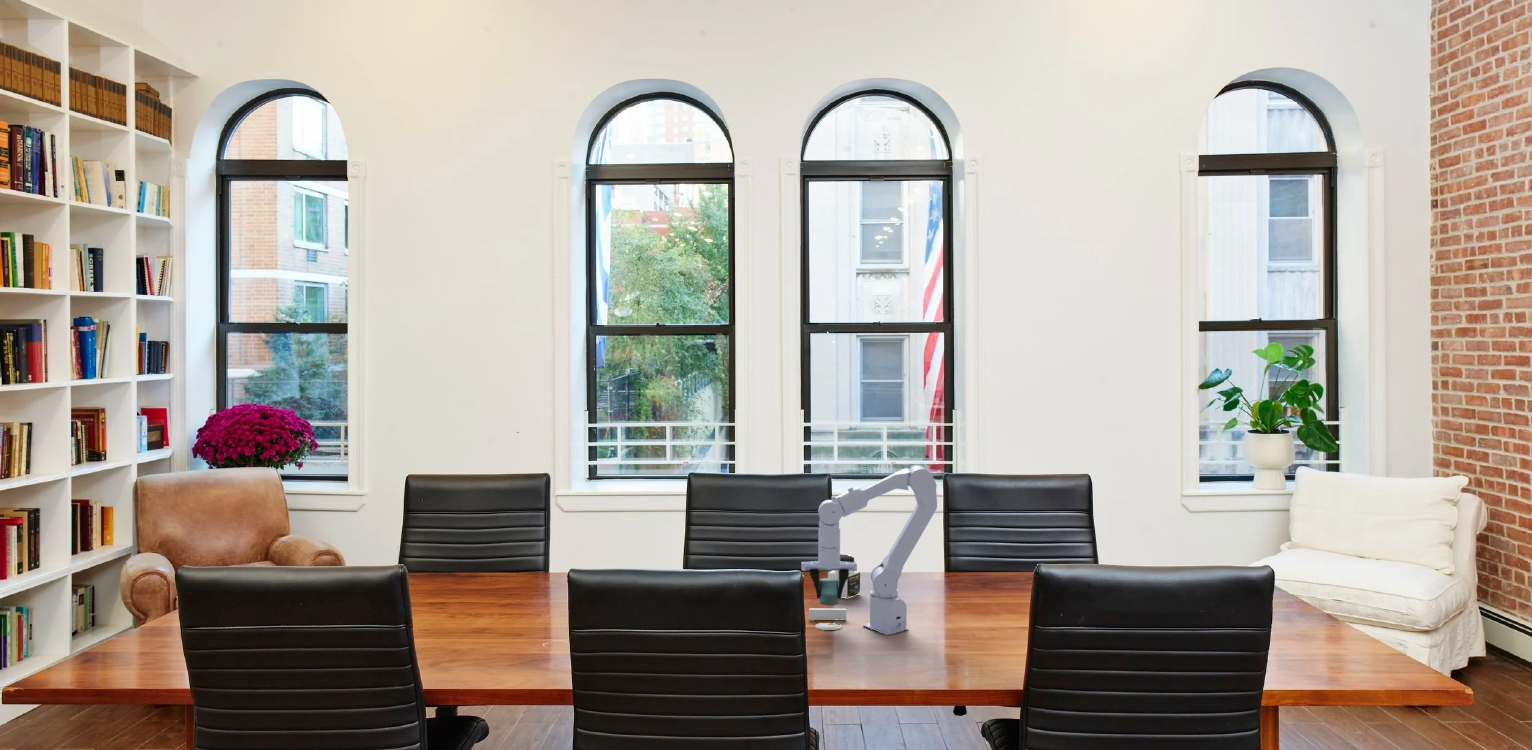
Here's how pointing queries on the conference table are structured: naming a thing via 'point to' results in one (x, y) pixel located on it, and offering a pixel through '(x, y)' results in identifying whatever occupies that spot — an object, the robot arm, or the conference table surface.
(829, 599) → the teal cylinder
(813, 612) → the divider wall
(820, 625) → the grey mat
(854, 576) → the medicine bottle
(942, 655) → the conference table surface
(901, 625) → the robot arm
